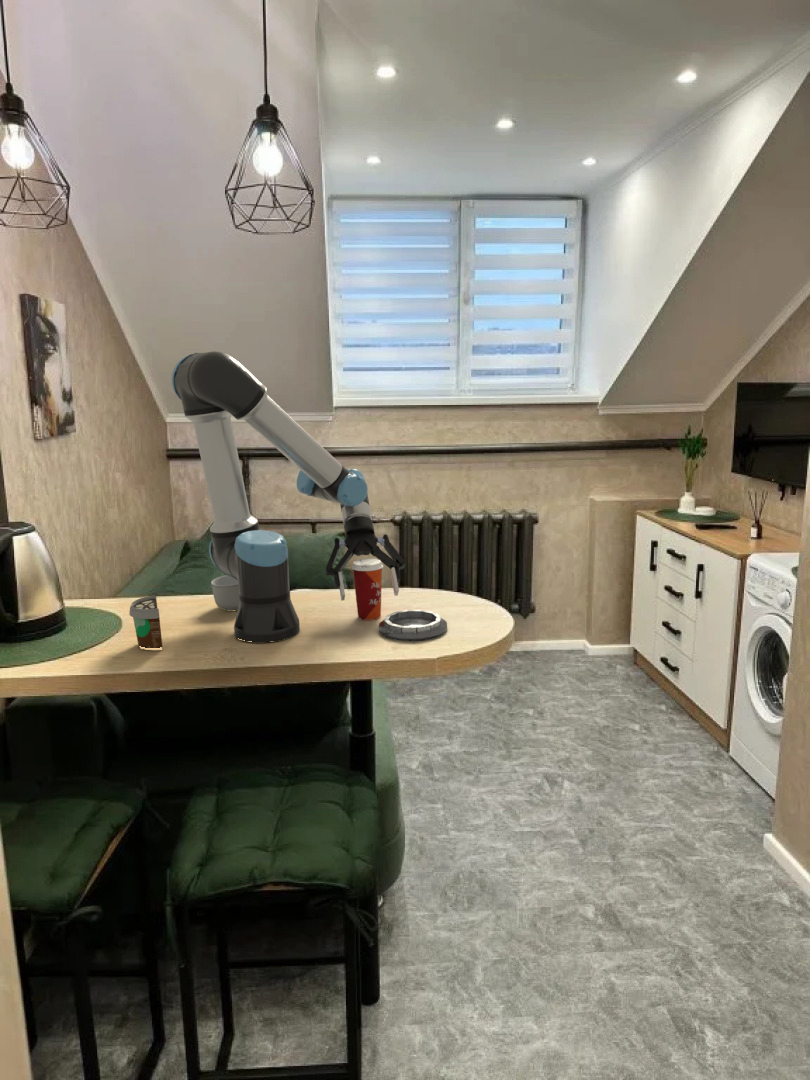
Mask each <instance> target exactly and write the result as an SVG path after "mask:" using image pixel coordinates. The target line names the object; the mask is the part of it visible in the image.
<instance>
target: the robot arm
mask: <svg viewBox="0 0 810 1080" xmlns="http://www.w3.org/2000/svg"><path fill="white" fill-rule="evenodd" d="M171 386H172V388H173V391H174V393H175V395H176V396H177V398H178V399H179V400H180V401H181V404H182V409H183V414H184V417H185V418H186V419H188V420H189V421H190V422H191V423H193V427H194V432H195V436H196V442H197V446H198V451H199V455H200V460H201V464H202V469H203V474H204V478H205V484H206V488H207V493H208V497H209V502H210V506H211V511H212V515H213V523H212V525H210V527H209V532H210V537H211V540H210V541H209V546H208V547H209V548H208V553H209V557H210V559H211V562H212V564H213V565H214V567H216V568H217V569H218V570H219V571H220V572H221V573H222V574H225V575H228V576H231V577H233V578H235V579H237V580H238V587H239V598H240V604H239V608H238V610H237V612H236V618H235V621H234V626H233V630H234V631H233V632H234V637H235V636H236V637H237V638H239V639H242V640H245V641H252V642H269V643H271V642H270V641H276V642H280V641H279V640H281V641H284V639H285V640H287V639H290V638H292V637H295V636H296V635H297V634H299V633H300V631H301V629H300V628H301V626H300V619H299V617H298V614H297V612H296V609H295V607H294V605H293V602H292V600H291V590H290V589H291V588H290V574H289V573H290V571H289V570H290V569H289V550H288V545H287V544H288V543H287V540H286V538H285V537H284V536H283V535H282V534H280V533H278V532H276V531H271V530H270V531H269V530H264V529H260V525H259V521H258V518H257V517H255V516H253V515H251V513H250V507H249V503H248V497H247V492H246V487H245V483H244V477H243V472H242V467H241V462H240V458H239V454H238V447H237V443H236V437H235V432H234V429H233V423H232V418H231V417H232V416H233V418H235V419H236V420H237V421H241V420H243V421H245V422H246V423H247V424H248V425H250V427H252V428H253V429H254V431H256V432H257V433H259V435H261V436H262V437H263V438H264V439H265V440H266V441H267V442H269V443H270V444H271V445H272V446H273V447H274V448H276V449H277V450H278V452H280V453H281V454H282V455H283V456H284V457H286V458H287V459H288V460H289V461H290V462H291V463H292V464H294V465H295V466H296V467H297V469H299V470H300V471H298V472H299V473H298V474H297V477H296V489H297V490H298V492H299V493H301V494H303V495H305V496H308V497H313V498H317V499H320V500H325V501H329V502H331V503H334V504H339V505H340V510H341V511H340V512H341V516H342V524H343V530H344V535H345V536H344V537H345V539H339V538H338V537H335V538H334V541H333V542H334V543H333V549H332V551H331V554H330V557H329V559H328V561H327V565H326V567H325V572H324V573H325V575H326V576H332V578H333V582H334V587H335V588H339V594H340V601H342V602H343V601H345V598H346V592H345V585H344V578H343V571H342V570H343V569H344V568H345V566H346V565H347V564H348V563H349V562H350V560H351V559H352V558H353V557H354V555H355V556H357V557H360V556H369V555H370V554H371V556H373V557H375V558H376V559H378V560H380V561H381V563H382V564H384V565H385V566H386V567H387V568H388V569H390V578H391V584H392V589H393V594H394V597H396V596H399V591H400V589H399V583H400V582H401V574H400V570H404V568H405V565H406V561H405V560H404V558H403V557H402V556H401V554H400V553H399V552H398V551H397V550H396V548H395V546H394V545H393V544H392V543H391V541H390V537H389V536H388V534H385V533H384V534H383V536H381V537H377V536H376V532H375V528H374V527H375V526H374V523H373V516H372V511H371V506H370V500H369V494H368V492H369V491H368V484H367V483H366V479H365V477H364V474H363V472H362V471H361V470H359V469H356V468H352V469H350V468H346V467H345V466H344V465H342V463H340V462H339V461H338V460H337V459H336V458H335V457H333V455H332V454H331V453H330V452H329V451H328V450H327V449H326V448H324V447H323V446H322V444H320V443H319V442H318V441H317V440H316V439H315V438H314V437H313V436H312V435H311V434H309V433H308V431H306V430H305V429H304V428H303V427H302V426H301V425H300V424H299V423H298V422H296V420H294V418H292V417H291V416H290V415H289V414H288V413H287V412H286V411H285V410H284V409H283V408H282V407H281V406H280V405H278V403H277V402H275V400H273V399H272V398H271V397H270V396H269V395H268V391H267V387H266V386H265V384H263V383H262V382H261V381H260V380H259V379H258V378H257V377H256V376H255V375H254V374H253V373H252V372H250V371H249V369H247V368H246V367H245V366H244V365H243V364H242V363H241V362H239V360H237V359H235V357H233V356H231V355H229V354H228V353H225V352H221V351H213V350H212V351H207V352H194V353H190V354H188V355H186V356H184V357H182V358H181V359H180V360H179V361H178V362H177V363H176V365H175V366H174V368H173V370H172V374H171ZM378 544H380V546H381V547H383V549H384V550H385V551H386V552H384V551H383V550H382V549H381V548H380V546H379V545H378ZM343 546H345V548H346V549H347V550H346V551H345V553H344V555H343V556H342V558H340V560H339V561H338V563H337V564H336V566H335V567H334V565H335V562H336V561H337V557H338V555H339V553H340V550H341V549H342V548H343ZM236 637H235V638H236ZM237 638H236V639H237Z"/></svg>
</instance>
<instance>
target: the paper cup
mask: <svg viewBox="0 0 810 1080" xmlns="http://www.w3.org/2000/svg"><path fill="white" fill-rule="evenodd" d="M383 568H384V565H383V562H381V561H380V560H379V559H378V558H362V559H356V560H354V561H353V563H352V566H351V569H352V572H353V573H352V574H353V579H354V582H353V583H354V590H355V591H354V592H355V601H356V608H357V609H356V611H357V616H358V619H360V620H362V621H372V620H377V619H379V618H381V615H382V613H381V612H382V585H383V584H382V583H383V582H382V580H383V579H382V578H383V576H382V574H383Z"/></svg>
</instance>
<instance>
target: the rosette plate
mask: <svg viewBox="0 0 810 1080" xmlns="http://www.w3.org/2000/svg"><path fill="white" fill-rule="evenodd" d="M447 631H448V622H447V620H445V619H444V618H443V617H442V615H440V614H438V613H436V612H435V611H430V610H425V609H405V610H399V611H394V612H392V613H389V614H388V615H387V614H386V615H385V618H384V619H383V620H381V621H380V622H379V623H378V633H379V634H380V635H381V636H382V637H384V638H387V639H390V640H393V641H400V642H421V641H423V642H424V641H429V640H433V639H436V638H440V637H442V636H443V635H445V634H446V633H447ZM445 632H446V633H445ZM444 633H445V634H444ZM441 635H442V636H441Z"/></svg>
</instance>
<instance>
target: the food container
mask: <svg viewBox="0 0 810 1080" xmlns="http://www.w3.org/2000/svg"><path fill="white" fill-rule="evenodd" d="M129 616H130V617H132V618H133V619H132V620H133V623H134V629H135V634H136V639H137V645H139V646H141V647H145V648H160V647H163V640H162V631H161V630H162V629H161V621H160V620H161V619H160V618H161V617H160V609H159V608H158V601H157V595H156V594H153V595H148V596H143V597H140V598H138V599H135V600H134V601H132V602H131V604H130V606H129ZM139 646H138V647H139Z"/></svg>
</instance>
